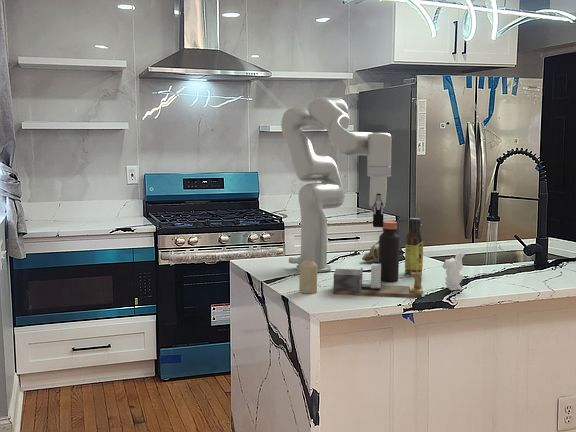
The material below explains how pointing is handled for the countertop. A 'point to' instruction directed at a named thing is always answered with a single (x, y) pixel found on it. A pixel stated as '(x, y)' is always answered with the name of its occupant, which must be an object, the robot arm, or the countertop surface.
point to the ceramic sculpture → (372, 254)
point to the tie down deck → (352, 282)
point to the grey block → (374, 277)
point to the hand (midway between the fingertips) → (378, 225)
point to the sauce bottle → (414, 248)
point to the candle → (308, 277)
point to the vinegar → (389, 252)
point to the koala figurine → (454, 272)
